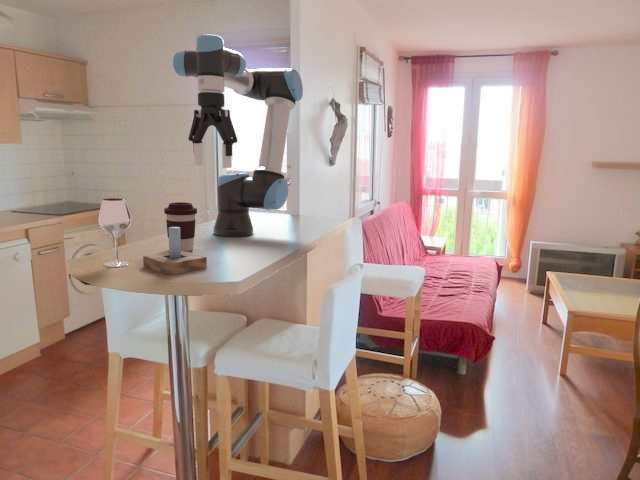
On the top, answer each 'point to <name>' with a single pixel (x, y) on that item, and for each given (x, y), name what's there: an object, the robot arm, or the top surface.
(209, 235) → the top surface
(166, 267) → the hole block
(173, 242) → the peg
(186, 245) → the coffee cup
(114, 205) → the wineglass
